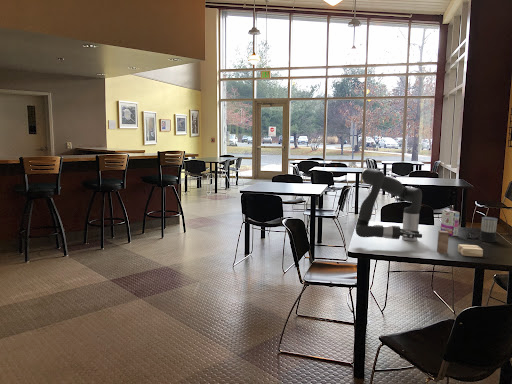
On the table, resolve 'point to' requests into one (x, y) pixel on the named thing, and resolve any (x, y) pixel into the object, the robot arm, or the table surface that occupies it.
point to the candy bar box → (450, 222)
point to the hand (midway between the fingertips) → (420, 234)
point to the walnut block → (442, 241)
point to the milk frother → (486, 230)
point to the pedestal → (470, 250)
